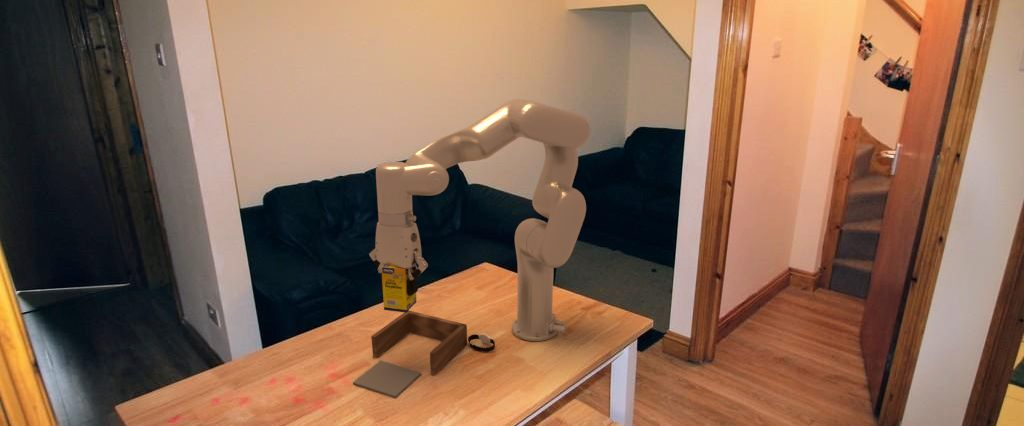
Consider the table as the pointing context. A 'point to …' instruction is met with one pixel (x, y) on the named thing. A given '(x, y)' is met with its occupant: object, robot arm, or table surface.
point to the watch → (484, 339)
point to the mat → (387, 379)
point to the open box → (425, 326)
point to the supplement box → (396, 289)
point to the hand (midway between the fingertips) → (399, 289)
